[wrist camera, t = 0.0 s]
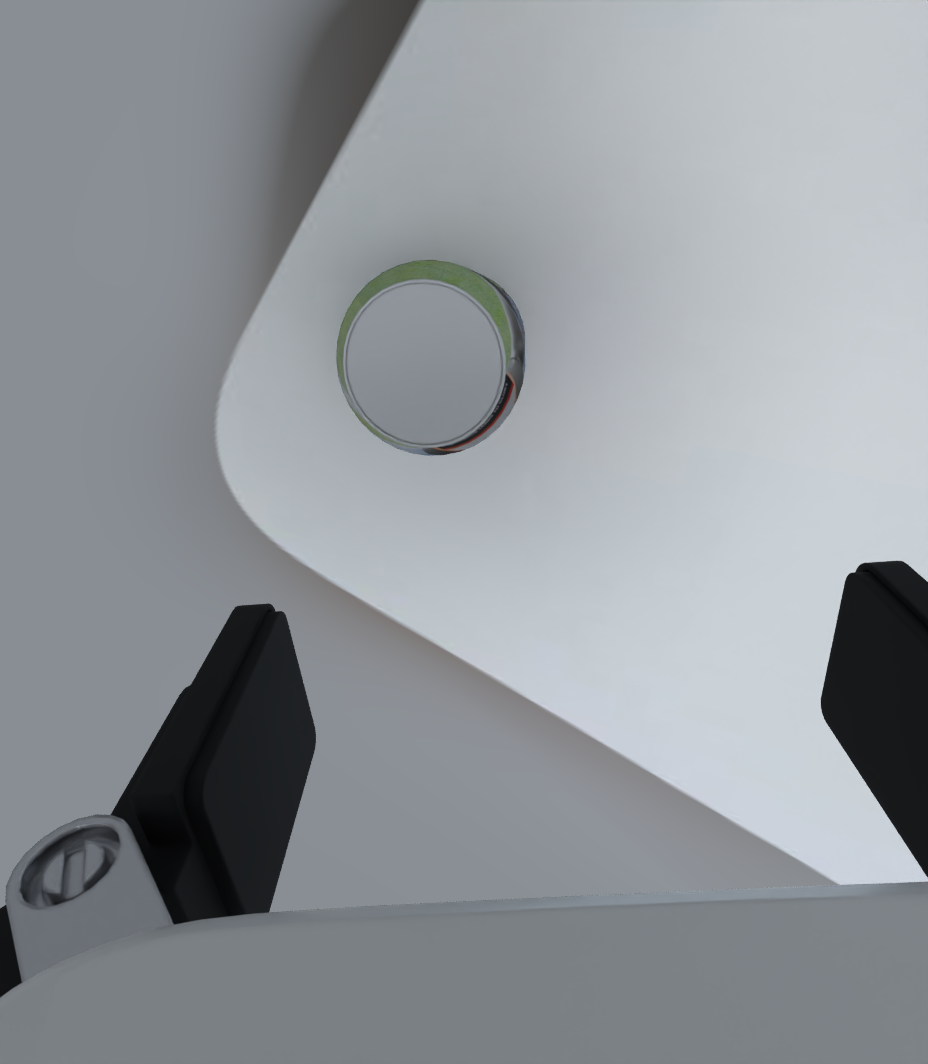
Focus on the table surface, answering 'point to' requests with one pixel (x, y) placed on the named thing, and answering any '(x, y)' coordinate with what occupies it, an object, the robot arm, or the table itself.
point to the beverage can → (431, 357)
